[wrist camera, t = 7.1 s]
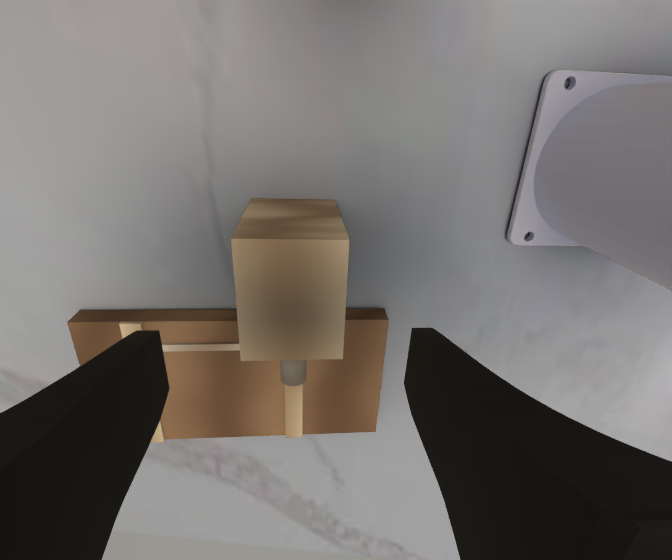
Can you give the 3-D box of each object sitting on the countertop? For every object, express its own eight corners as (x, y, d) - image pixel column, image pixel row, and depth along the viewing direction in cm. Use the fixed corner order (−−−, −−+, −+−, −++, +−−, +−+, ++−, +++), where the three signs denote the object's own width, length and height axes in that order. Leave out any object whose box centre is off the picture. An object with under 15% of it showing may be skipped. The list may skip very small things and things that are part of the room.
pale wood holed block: (334, 199, 19) (349, 239, 13) (329, 331, 22) (340, 407, 16) (251, 198, 18) (231, 238, 13) (258, 331, 21) (244, 410, 16)
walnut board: (384, 308, 21) (389, 321, 20) (372, 417, 25) (376, 434, 23) (80, 310, 20) (65, 324, 19) (111, 425, 23) (100, 444, 22)
